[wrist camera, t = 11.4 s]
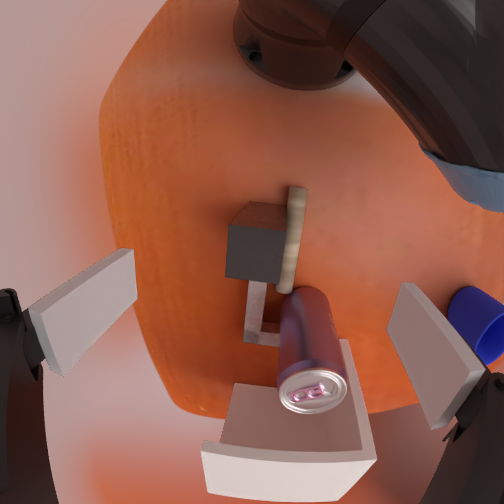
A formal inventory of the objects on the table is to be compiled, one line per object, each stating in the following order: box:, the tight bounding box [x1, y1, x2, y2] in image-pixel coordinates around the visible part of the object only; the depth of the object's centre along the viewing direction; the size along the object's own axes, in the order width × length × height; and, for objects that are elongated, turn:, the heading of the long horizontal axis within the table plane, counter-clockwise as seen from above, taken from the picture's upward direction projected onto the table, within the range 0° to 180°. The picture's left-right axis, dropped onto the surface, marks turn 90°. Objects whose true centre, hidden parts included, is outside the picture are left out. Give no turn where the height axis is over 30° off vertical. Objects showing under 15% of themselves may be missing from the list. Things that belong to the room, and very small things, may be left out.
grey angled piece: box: [225, 201, 287, 347], centre depth 27 cm, size 17×8×12 cm, turn 175°
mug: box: [448, 286, 504, 365], centre depth 27 cm, size 8×12×10 cm
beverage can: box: [277, 287, 347, 414], centre depth 26 cm, size 6×6×15 cm
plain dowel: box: [275, 186, 308, 294], centre depth 30 cm, size 12×2×2 cm, turn 174°
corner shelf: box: [201, 339, 377, 502], centre depth 28 cm, size 12×15×19 cm
